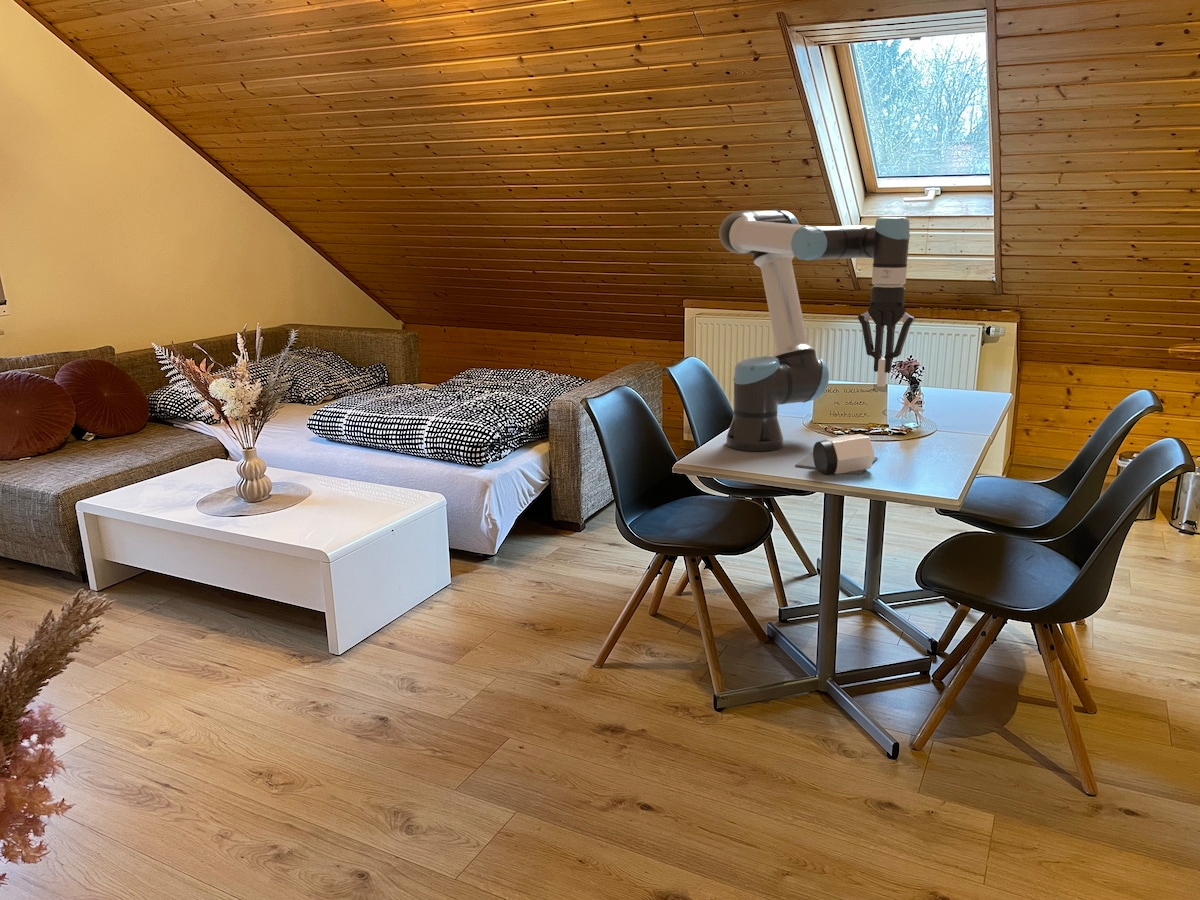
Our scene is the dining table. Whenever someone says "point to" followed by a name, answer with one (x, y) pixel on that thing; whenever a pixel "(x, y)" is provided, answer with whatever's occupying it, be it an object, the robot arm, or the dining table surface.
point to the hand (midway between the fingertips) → (881, 385)
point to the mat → (809, 463)
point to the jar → (843, 454)
